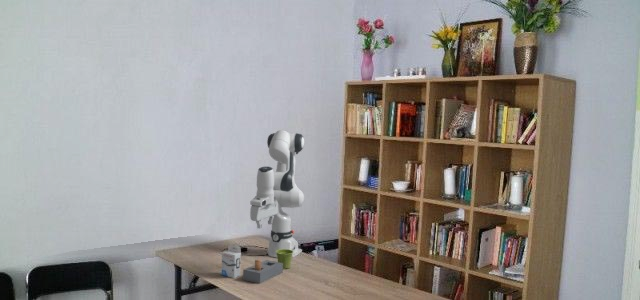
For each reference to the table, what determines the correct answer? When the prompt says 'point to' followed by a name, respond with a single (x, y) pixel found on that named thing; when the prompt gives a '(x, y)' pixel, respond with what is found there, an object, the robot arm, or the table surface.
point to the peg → (258, 265)
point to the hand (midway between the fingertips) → (264, 226)
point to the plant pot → (284, 257)
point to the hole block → (263, 271)
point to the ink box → (231, 261)
